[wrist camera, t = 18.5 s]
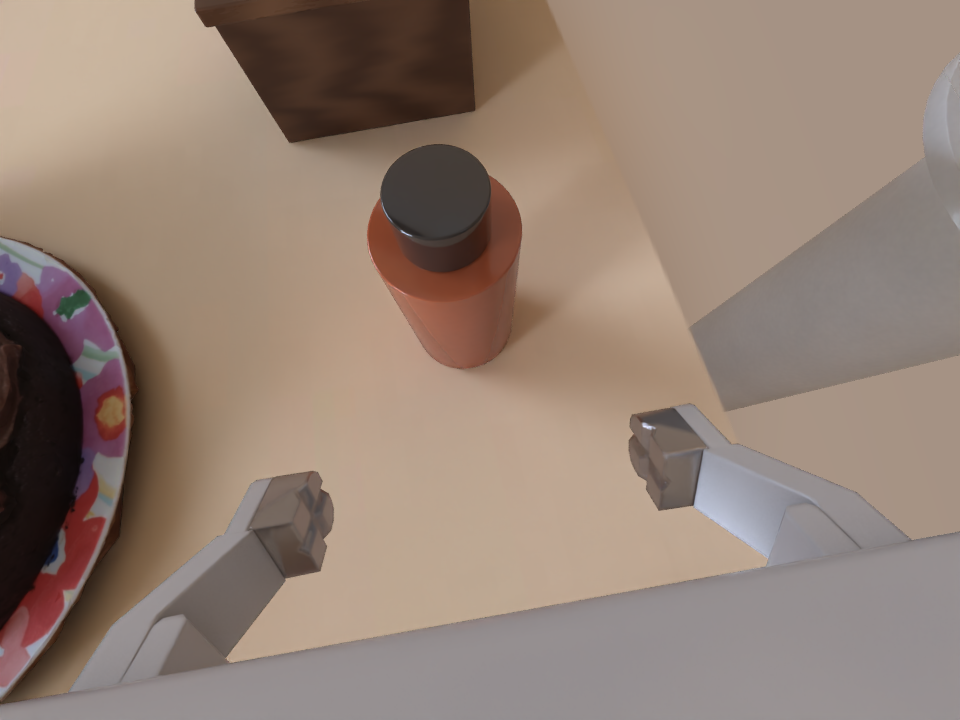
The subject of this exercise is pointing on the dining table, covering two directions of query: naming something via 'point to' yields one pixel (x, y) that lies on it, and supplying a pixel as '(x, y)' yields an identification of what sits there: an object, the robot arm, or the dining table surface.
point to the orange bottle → (448, 252)
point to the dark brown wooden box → (350, 60)
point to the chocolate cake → (55, 447)
